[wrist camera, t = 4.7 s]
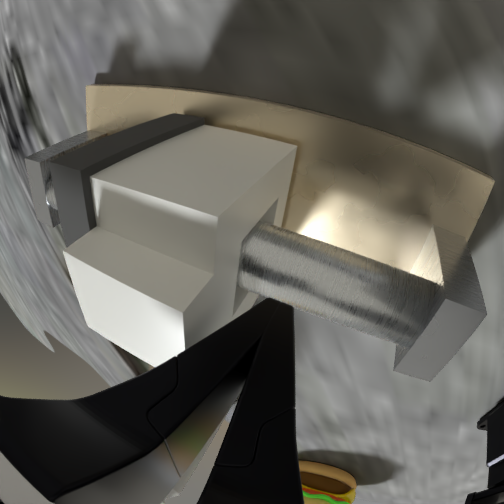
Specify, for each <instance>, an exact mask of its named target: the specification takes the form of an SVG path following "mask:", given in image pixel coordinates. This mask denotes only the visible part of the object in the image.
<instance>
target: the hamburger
mask: <svg viewBox="0 0 504 504" xmlns="http://www.w3.org/2000/svg"><path fill="white" fill-rule="evenodd" d="M299 468H300V476H301V483H302V490H303V498H304V504H352V503H353V501H354V499H355V495H356V493H355V489H356V487H357V485H356V481H355V479H354V477H353V476H352V475H351V474H349V473H348V472H346V471H344V470H342V469H339V468H336V467H333V466H330V465H326V464H322V463H317V462H311V461H299Z"/></svg>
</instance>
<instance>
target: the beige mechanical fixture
mask: <svg viewBox="0 0 504 504" xmlns="http://www.w3.org/2000/svg"><path fill="white" fill-rule="evenodd" d="M86 112H87V131H86V132H84V133H81V134H78V135H76V136H73V137H71V138H69V139H66V140H64V141H61V142H59V143H57V144H54V145H52V146H50V147H48V148H45V149H43V150H41V151H39V152H37V153H35V154H32V155H30V156H28V157H26V158H25V162H26V168H27V174H28V179H29V184H30V189H31V194H32V198H33V203H34V207H35V211H36V215H37V219H38V220H39V221H41V222H43V223H45V224H47V225H48V226H50V227H52V228H54V227H55V226H57V225H58V224H60V223H61V222H60V218H59V213H58V208H57V203H56V198H55V193H54V188H53V182H52V176H51V170H50V163H49V162H50V161H52V160H54V159H56V158H58V157H60V156H62V155H65V154H67V153H69V152H71V151H73V150H76V149H78V148H80V147H82V146H85V145H87V144H89V143H92V142H94V141H97V140H99V139H102V138H104V137H107V136H109V135H112V134H114V133H117V132H119V131H122V130H125V129H128V128H130V127H133V126H136V125H139V124H141V123H144V122H147V121H150V120H153V119H156V118H159V117H162V116H166V115H169V114H172V113H177V114H184V115H190V116H196V117H202V118H205V124H204V125H208V126H214V127H219V128H224V129H229V130H233V131H238V132H243V133H247V134H251V135H256V136H260V137H264V138H268V139H273V140H277V141H281V142H284V143H288V144H292V145H296V146H297V151H296V156H295V161H294V166H293V171H292V176H291V181H290V186H289V191H288V196H287V201H286V206H285V211H284V216H283V221H282V226H281V227H279V226H276V225H273V224H270V223H266V222H263V221H260V220H259V221H258V222H257V223H256V225H255V226H254V227H253V228H252V229H251V231H250V232H249V233H248V234H247V235H246V237H245V238H244V239H243V240H242V242H241V250H240V258H239V266H238V274H237V282H236V286H238V287H240V288H243V289H246V290H248V291H251V292H253V293H256V294H259V295H261V296H264V297H266V298H269V297H271V298H273V299H276V300H279V301H281V302H284V303H286V304H289V305H292V306H293V308H296V309H298V310H301V311H304V312H307V313H309V314H312V315H315V316H317V317H320V318H323V319H326V320H329V321H331V322H334V323H337V324H340V325H343V326H345V327H348V328H351V329H354V330H357V331H360V332H363V333H365V334H368V335H371V336H374V337H377V338H380V339H383V340H386V341H389V342H392V343H395V344H396V353H395V362H394V370H393V371H396V372H399V373H402V374H406V375H409V376H412V377H416V378H419V379H422V380H426V381H429V382H430V381H431V380H432V379H433V378H434V377H435V376H436V375H437V374H438V373H439V372H440V371H441V370H442V369H443V368H444V366H445V365H446V364H447V363H448V362H449V361H450V360H451V359H452V358H453V356H454V355H455V354H456V353H457V352H458V351H459V349H460V348H461V347H462V346H463V345H464V343H465V342H466V341H467V340H468V339H469V337H470V336H471V335H472V334H473V332H474V331H475V330H476V328H477V327H478V326H479V325H480V323H481V322H482V321H483V319H484V318H485V317H486V315H487V312H486V307H485V303H484V299H483V295H482V291H481V288H480V284H479V280H478V277H477V273H476V270H475V267H474V263H473V260H472V257H471V254H470V251H469V248H468V245H467V242H468V240H469V238H470V236H471V234H472V232H473V230H474V228H475V226H476V224H477V221H478V219H479V217H480V215H481V213H482V211H483V208H484V206H485V204H486V202H487V199H488V197H489V195H490V192H491V190H492V188H493V185H494V183H495V181H494V180H493V179H492V177H491V176H489V175H487V174H485V173H483V172H481V171H479V170H477V169H475V168H473V167H470V166H468V165H466V164H464V163H462V162H460V161H457V160H455V159H453V158H450V157H448V156H446V155H444V154H441V153H439V152H436V151H434V150H431V149H429V148H427V147H424V146H421V145H419V144H416V143H414V142H411V141H408V140H406V139H403V138H400V137H397V136H395V135H392V134H389V133H386V132H383V131H380V130H377V129H374V128H371V127H368V126H365V125H361V124H358V123H355V122H351V121H348V120H345V119H341V118H338V117H334V116H330V115H327V114H323V113H319V112H315V111H311V110H307V109H303V108H298V107H294V106H290V105H285V104H280V103H276V102H271V101H266V100H261V99H255V98H250V97H244V96H238V95H232V94H225V93H218V92H211V91H203V90H195V89H186V88H175V87H164V86H150V85H130V84H91V85H87V86H86Z"/></svg>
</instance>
